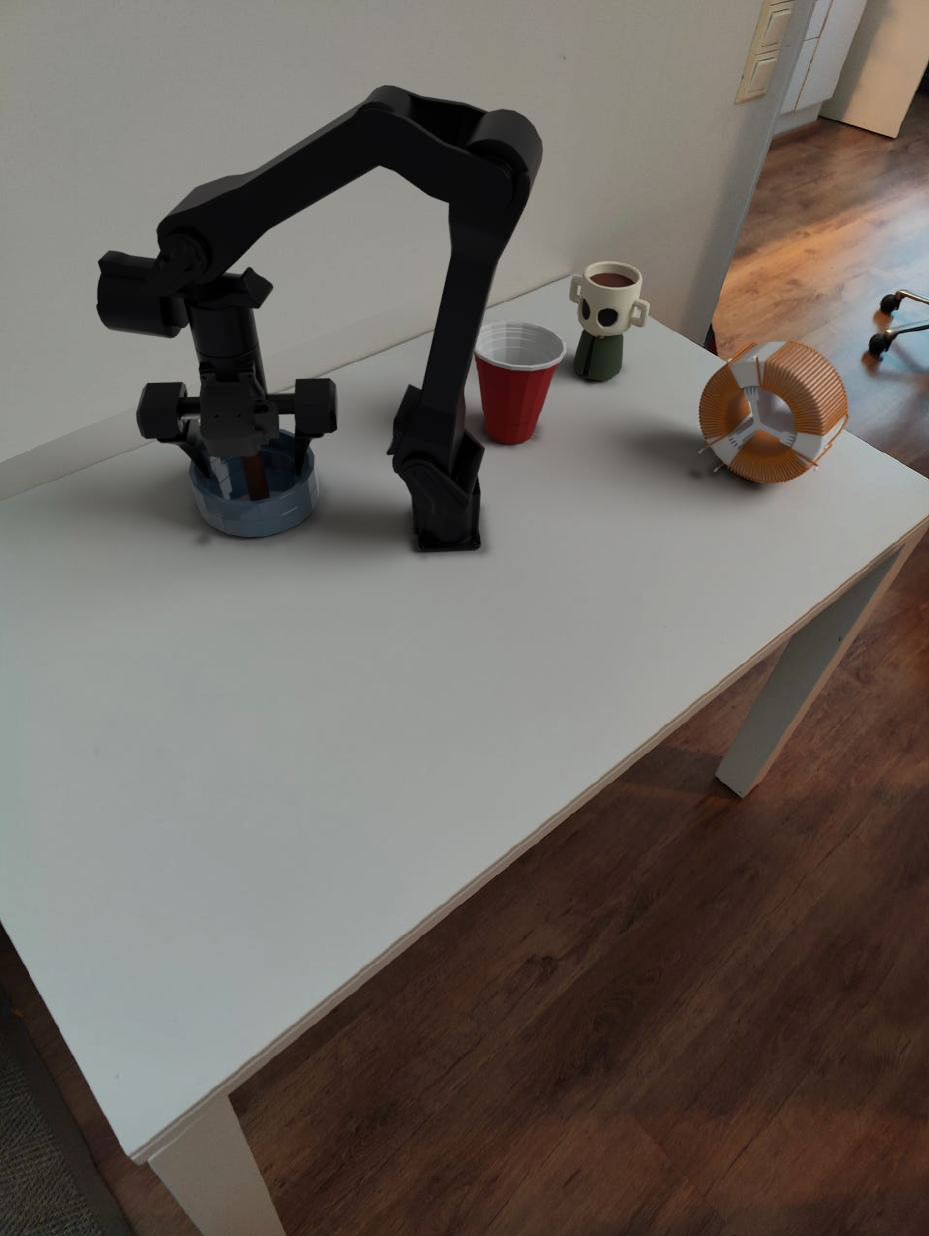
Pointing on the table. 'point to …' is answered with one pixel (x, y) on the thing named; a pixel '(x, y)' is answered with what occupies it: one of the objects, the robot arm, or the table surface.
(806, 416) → the coil
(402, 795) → the table surface
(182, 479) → the table surface
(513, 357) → the plastic cup
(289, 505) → the bowl
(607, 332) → the character mug
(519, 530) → the table surface
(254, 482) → the brown cylindrical peg
